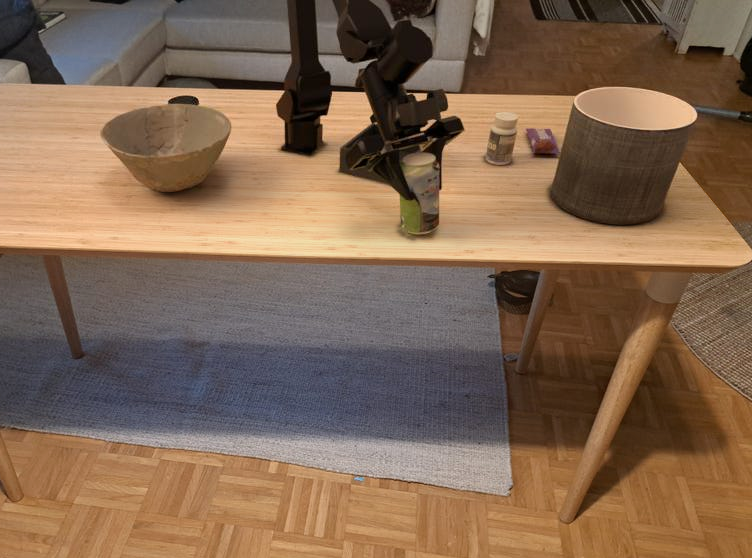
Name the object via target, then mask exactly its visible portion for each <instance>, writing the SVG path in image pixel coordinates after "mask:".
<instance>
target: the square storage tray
mask: <svg viewBox="0 0 752 558" xmlns="http://www.w3.org/2000/svg"><path fill="white" fill-rule="evenodd" d="M376 134H378V135H380V136H381V133H380V130H379V128H378V125H377V123H370V124H369V125H368V126H366V128H364V129H363V130H361V131H360V132H359V133H357V134H356V135H355V136H354V137H352V138H351V139H350V140H348V141H347V142H345V143H344V144H343V145H342V146H341V147H340V148H339V168H338V169H339V170H338V172H339V173H342V174H346V175H350V176H354V177H358V178H362V179H366V180H371V181H375V182H379V183H382V184H386V185H389V184H388V183H387V182H386V181H385V180H384V179H382V178H381V177H380V176H379V175H377V174H376V173H375V172H374V171H368V170H367V167H368V166H370V165H371V164H370V161H369V158H368V162H367V164H366V166H365V167H363V168H359V169H355V170H351V171H350V170H348V167H347V164H346V162H345V154H346V151H347V150H348V149H349V148H350V147H351V146H352V145H353V144H354V143H355V142H356V141H357V140H358V139H360V138H364V137H368V136H372V135H376ZM381 137H382V136H381ZM412 140H413V139H412ZM412 140H408V141H412ZM399 144H400V143H399ZM395 145H396V144H395ZM413 153H421V149H420V147H419V145H417V146H413V147H409V148H405V149H401V150H400V165H401V163H402V159H403V158H404V157H405V156H407V155H409V154H413Z"/></svg>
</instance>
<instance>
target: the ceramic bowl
mask: <svg viewBox="0 0 752 558" xmlns="http://www.w3.org/2000/svg"><path fill="white" fill-rule="evenodd" d="M231 133H232V122H231V121H230V119H229V118H228V117H227V116H226V115H225V114H224V113H223V112H221V111H220V110H217V109H214V108H212V107H209V106H203V105H198V104H190V103H167V104H161V105H152V106H149V107H142V108H136V109H133V110H130V111H126V112H124V113H121V114H118V115H116V116H115V117H114V118H112V119H110V120H109V121H108V122H106V123H105V124H104V126H103V127H102V129H101V130H100V135H99V136H100V138H101V140H102V141H103V143H104V144H105V145H106V146H107V147H108V149H109V150H110V151H111V152H112V153H113V154H114V155H115V156H116V157H117V159H118V160H119V161H120V162H121V163H122V165H124V167H125V168H126V169H127V170H128V171H129V173H130V174H131V175H132V176H133V177H134V178H135V180H137V181H138V182H139V183H141V184H142V185H143V186H145V187H147V188H149V189H151V190H154V191H158V192H163V193H171V192H172V193H173V192H179V191H182V190H185V189H190V188H193V187H195V186H197V185H199V184H200V183H201V182H202V181H204V180H205V179H206V177H207V176H208V174H210V172H211V171H212V170H213V168H214V167H215V165H216V163H217V162H218V160H219V158H220V156H221V155H222V153H223V151H224V148H225V147H226V145H227V142H228V140H229V138H230V135H231Z"/></svg>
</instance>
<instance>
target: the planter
mask: <svg viewBox="0 0 752 558" xmlns="http://www.w3.org/2000/svg"><path fill="white" fill-rule="evenodd" d="M697 119H698V112H697V110H696V109H695V108H694V107H693V106H692V105H691V104H689V103H688V102H687V101H685V100H683V99H680V98H678V97H676V96H673V95H670V94H668V93H667V94H666V93H663V92H660V91H656V90H650V89H645V88H639V87H629V86H628V87H626V86H605V87H596V88H591V89H588V90H585V91H582V92H580V93H578V94H576V96H575V97H574V98H573V101H572V104H571V109H570V113H569V117H568V121H567V125H566V128H565V134H564V137H563V141H562V146H561V149H560V154H559V157H558V161H557V165H556V169H555V173H554V177H553V181H552V184H551V187H550V196H551V199H552V200H553V202H554V203H555V204H556V205H557V206H558V207H559V208H560V209H561V208H562V209H563V210H564V211H566V212H568V213H570V214H571V215H574V216H576V217H578V218H582V219H584V220H589V221H591V222H595V223H596V222H597V223H601V224H608V225H638V224H642V223H646V222H649V221H651V220H653V219H655V218H656V217H658V216H659V215H660V214H661V212H662V210H663V207H664V204H665V201H666V199H667V198H666V197H667V196H668V193H669V190H670V188H671V186H672V183H673V180H674V178H675V175H676V172H677V170H678V168H679V165H680V164H681V163H680V162H681V160H682V157H683V155H684V153H685V150H686V148H687V145H688V143H689V140H690V136H691V134H692V133H693V129H694V127H695V124H696V122H697Z"/></svg>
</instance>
